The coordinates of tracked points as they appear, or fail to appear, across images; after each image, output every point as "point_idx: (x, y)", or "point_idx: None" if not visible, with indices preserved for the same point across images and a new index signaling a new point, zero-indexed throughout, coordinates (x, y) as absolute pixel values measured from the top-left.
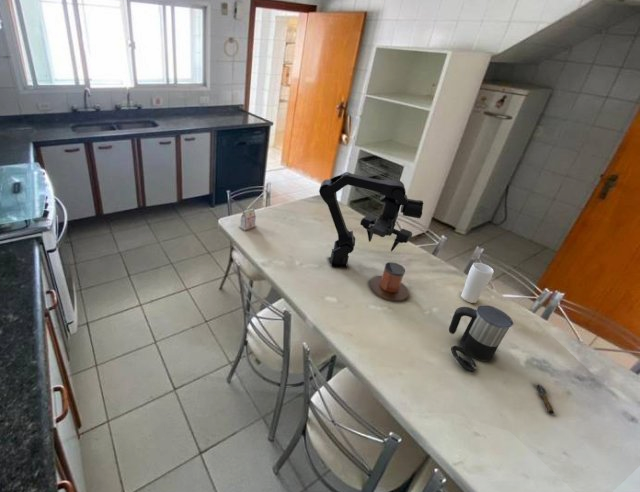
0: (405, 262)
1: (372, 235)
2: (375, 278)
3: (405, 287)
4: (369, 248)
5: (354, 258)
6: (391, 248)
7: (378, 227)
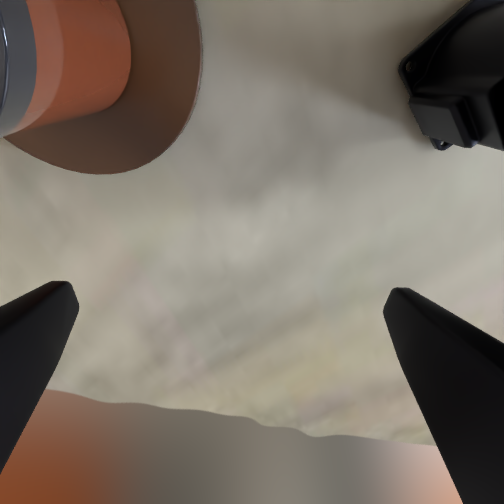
0: (163, 337)
1: (424, 405)
2: (184, 73)
3: (6, 136)
4: (320, 327)
5: (367, 210)
6: (24, 312)
7: None
